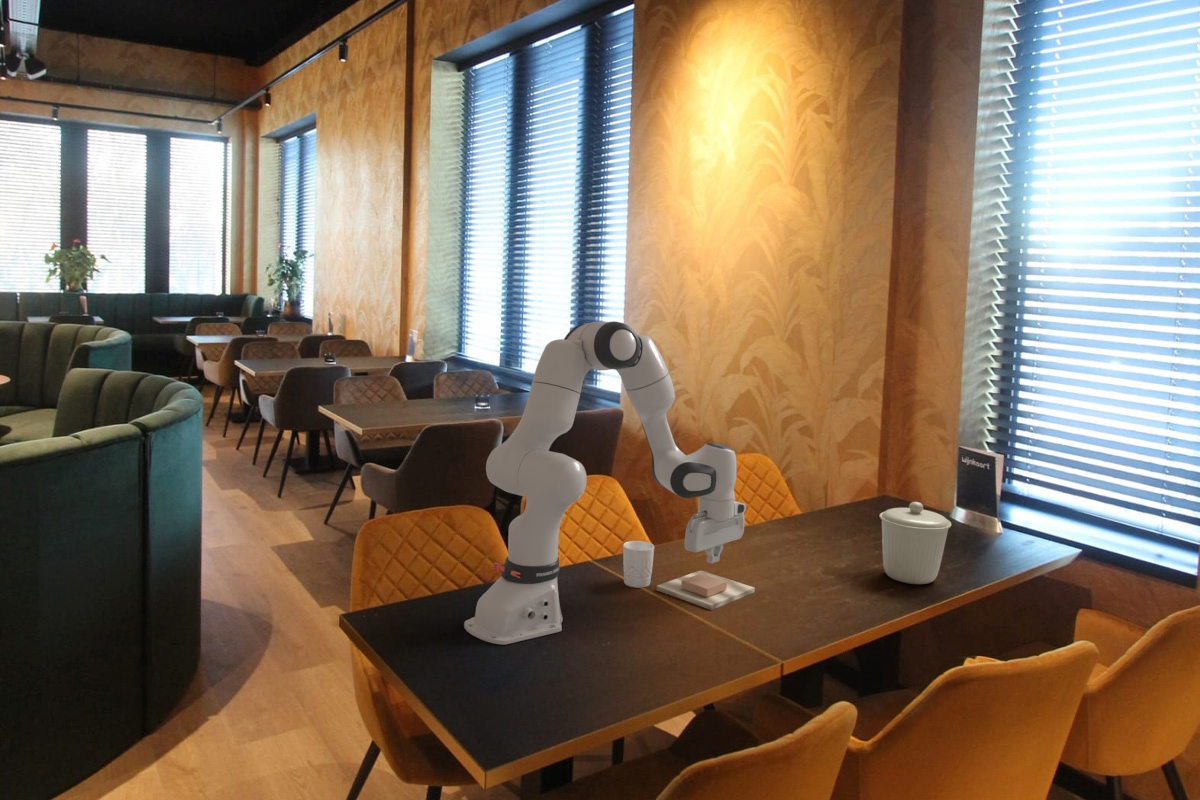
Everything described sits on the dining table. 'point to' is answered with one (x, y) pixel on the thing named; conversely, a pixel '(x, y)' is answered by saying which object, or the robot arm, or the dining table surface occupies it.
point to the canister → (913, 543)
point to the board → (711, 602)
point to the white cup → (637, 563)
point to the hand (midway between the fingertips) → (712, 561)
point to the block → (704, 585)
